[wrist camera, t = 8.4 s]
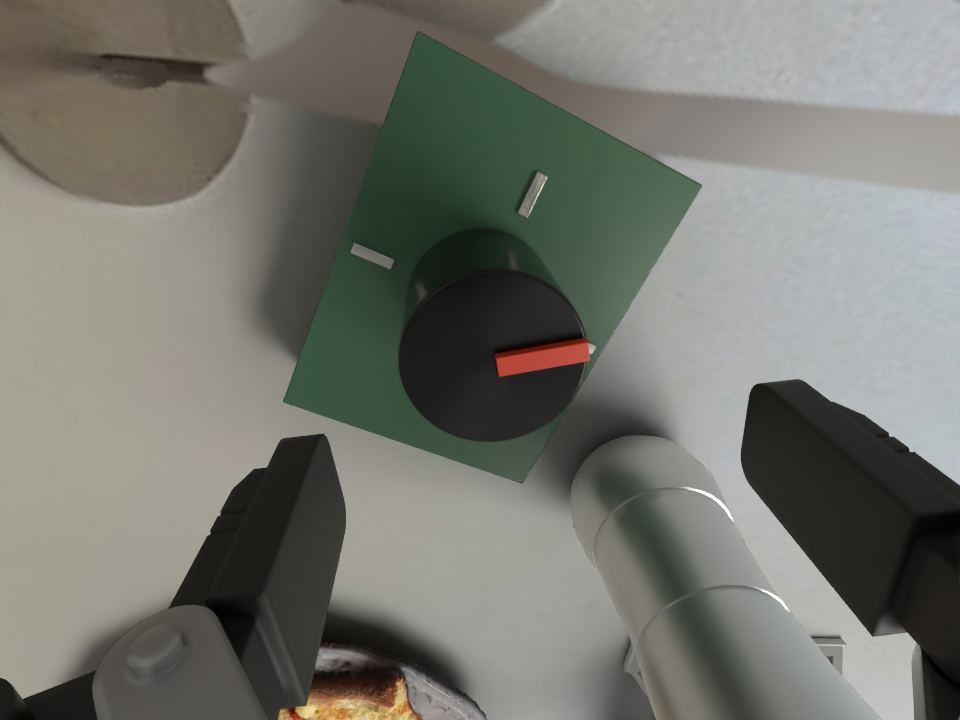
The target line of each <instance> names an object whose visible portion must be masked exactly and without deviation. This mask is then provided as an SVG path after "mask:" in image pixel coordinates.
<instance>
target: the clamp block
mask: <svg viewBox="0 0 960 720" xmlns="http://www.w3.org/2000/svg"><path fill="white" fill-rule="evenodd" d="M701 187H702V185H701V184H699V183H697V182H696V181H694V180H692V179H690V178H688V177H686V176H685V175H683V174H681V173H679V172H677V171H675V170H674V169H672V168H670V167H668V166H666V165H664V164H662V163H661V162H659V161H657V160H655V159H653V158H651V157H650V156H648V155H646V154H644V153H642V152H640V151H639V150H637V149H635V148H633V147H631V146H629V145H628V144H626V143H624V142H622V141H620V140H618V139H616V138H614V137H613V136H611V135H609V134H607V133H605V132H604V131H602V130H600V129H598V128H596V127H594V126H592V125H591V124H589V123H587V122H585V121H583V120H581V119H580V118H578V117H576V116H574V115H572V114H570V113H569V112H567V111H565V110H563V109H561V108H559V107H558V106H556V105H554V104H552V103H550V102H548V101H547V100H545V99H543V98H541V97H539V96H537V95H535V94H534V93H532V92H530V91H528V90H526V89H524V88H523V87H521V86H519V85H517V84H515V83H513V82H512V81H510V80H508V79H506V78H504V77H502V76H500V75H499V74H497V73H495V72H493V71H491V70H489V69H488V68H486V67H484V66H482V65H480V64H478V63H476V62H474V61H473V60H471V59H469V58H467V57H466V56H464V55H461V54H460V53H458V52H456V51H454V50H452V49H451V48H449V47H447V46H445V45H443V44H442V43H440V42H438V41H436V40H434V39H432V38H430V37H428V36H427V35H425V34H423V33H421V32H419V31H418V32H417V33H416V36H415V39H414V42H413V45H412V47H411V50H410V53H409V56H408V58H407V61H406V64H405V66H404V69H403V72H402V75H401V78H400V81H399V83H398V86H397V89H396V91H395V95H394V97H393V100H392V102H391V105H390V108H389V111H388V113H387V116H386V119H385V122H384V124H383V127H382V130H381V133H380V135H379V138H378V141H377V144H376V146H375V149H374V152H373V155H372V157H371V160H370V163H369V166H368V168H367V171H366V174H365V177H364V180H363V182H362V185H361V188H360V191H359V193H358V196H357V199H356V202H355V204H354V207H353V210H352V213H351V215H350V218H349V221H348V224H347V226H346V229H345V232H344V235H343V237H342V240H341V243H340V246H339V248H338V251H337V254H336V257H335V259H334V262H333V265H332V268H331V271H330V273H329V276H328V279H327V282H326V284H325V287H324V290H323V293H322V295H321V298H320V301H319V304H318V306H317V309H316V312H315V315H314V317H313V320H312V323H311V326H310V328H309V331H308V334H307V337H306V339H305V342H304V345H303V348H302V350H301V353H300V356H299V359H298V362H297V364H296V367H295V370H294V373H293V375H292V378H291V381H290V384H289V386H288V389H287V392H286V395H285V397H284V400H283V402H284V403H287V404H290V405H293V406H296V407H299V408H302V409H305V410H308V411H311V412H313V413H316V414H319V415H322V416H325V417H328V418H331V419H334V420H337V421H340V422H343V423H346V424H349V425H352V426H355V427H358V428H361V429H363V430H366V431H369V432H372V433H375V434H378V435H381V436H384V437H387V438H390V439H393V440H396V441H399V442H402V443H405V444H408V445H410V446H413V447H416V448H419V449H422V450H425V451H428V452H431V453H434V454H437V455H440V456H443V457H446V458H449V459H452V460H455V461H458V462H460V463H463V464H466V465H469V466H472V467H475V468H478V469H481V470H484V471H487V472H490V473H493V474H496V475H499V476H502V477H505V478H507V479H510V480H513V481H516V482H519V483H523V482H524V480H525V478H526V477H527V475H528V474H529V472H530V470H531V469H532V467H533V465H534V464H535V462H536V460H537V459H538V457H539V455H540V454H541V452H542V450H543V449H544V447H545V445H546V444H547V442H548V440H549V439H550V437H551V435H552V434H553V432H554V430H555V429H556V427H557V426H558V424H559V422H560V421H561V419H562V417H563V416H564V414H565V412H566V411H567V409H568V407H569V406H570V404H571V402H572V401H573V399H574V398H573V399H572V401H571V402H570V403H569V405H568V406H567V407H566V408H565V409H564V410H563V411H562V412H561V413H560V414H559V415H558V416H557V417H556V418H555V419H554V420H552V421H551V422H550V423H548V424H547V425H545V426H544V427H542V428H540V429H539V430H537V431H535V432H532V433H530V434H528V435H525V436H522V437H520V438H516V439H512V440H507V441H499V442H479V441H471V440H466V439H462V438H459V437H456V436H453V435H450V434H448V433H446V432H444V431H442V430H440V429H439V428H437V427H436V426H434V425H433V424H431V423H430V422H429V421H428V420H426V419H425V418H424V417H423V416H422V415H421V414H420V413H419V412H418V411H417V409H416V408H415V407H414V406H413V404H412V403H411V401H410V400H409V398H408V396H407V394H406V392H405V390H404V388H403V385H402V382H401V379H400V374H399V368H398V351H399V343H400V336H401V330H402V324H403V318H404V312H405V305H406V299H407V293H408V287H409V283H410V279H411V277H412V274H413V272H414V269H415V268H416V266H417V264H418V263H419V261H420V260H421V258H422V257H423V256H424V255H425V253H426V252H427V251H428V250H429V249H430V248H432V247H433V246H434V245H435V244H437V243H438V242H439V241H441V240H443V239H444V238H446V237H448V236H450V235H453V234H455V233H458V232H462V231H466V230H471V229H492V230H498V231H501V232H505V233H508V234H510V235H512V236H515V237H517V238H518V239H520V240H522V241H523V242H525V243H526V244H527V245H528V246H529V247H531V248H532V249H533V250H534V251H535V253H536V254H537V255H538V256H539V257H540V259H541V260H542V262H543V263H544V265H545V266H546V267H547V269H548V270H549V272H550V273H551V275H552V276H553V278H554V279H555V280H556V282H557V283H558V285H559V286H560V288H561V289H562V291H563V292H564V293H565V295H566V296H567V298H568V299H569V301H570V302H571V304H572V305H573V306H574V308H575V309H576V311H577V312H578V314H579V317H580V319H581V321H582V323H583V326H584V329H585V333H586V338H587V341H588V342H589V354H590V361H587V365H586V370H585V374H584V377H583V380H582V382H581V385H580V387H581V386H582V384H583V382H584V381H585V379H586V377H587V376H588V374H589V373H590V371H591V369H592V368H593V366H594V364H595V363H596V361H597V359H598V358H599V356H600V354H601V353H602V351H603V349H604V348H605V346H606V344H607V343H608V341H609V339H610V338H611V336H612V334H613V333H614V331H615V329H616V328H617V326H618V325H619V323H620V321H621V320H622V318H623V316H624V315H625V313H626V311H627V310H628V308H629V306H630V305H631V303H632V301H633V300H634V298H635V296H636V295H637V293H638V291H639V290H640V288H641V286H642V285H643V283H644V281H645V280H646V278H647V277H648V275H649V273H650V272H651V270H652V268H653V267H654V265H655V263H656V262H657V260H658V258H659V257H660V255H661V253H662V252H663V250H664V248H665V247H666V245H667V243H668V242H669V240H670V238H671V237H672V235H673V233H674V232H675V230H676V229H677V227H678V225H679V224H680V222H681V220H682V219H683V217H684V215H685V214H686V212H687V210H688V209H689V207H690V205H691V204H692V202H693V200H694V199H695V197H696V195H697V194H698V192H699V190H700V189H701ZM580 387H579V389H580ZM579 389H578V391H579ZM578 391H577V392H578ZM576 394H577V393H576ZM576 394H575V396H576ZM575 396H574V397H575Z"/></svg>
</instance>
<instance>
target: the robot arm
mask: <svg viewBox="0 0 960 720" xmlns="http://www.w3.org/2000/svg"><path fill="white" fill-rule="evenodd" d="M741 463H742V468H743V471H744V474H745V477H746V479H747V481H748V483H749V484H750V486H751V487H752V488H753V489H754V491H755V492H756V493H757V494H758V496H759V497H760V498H761V499H762V501H763V502H764V503H765V504H766V505H767V507H768V508H769V509H770V510H771V512H772V513H773V514H774V515H775V517H776V518H777V519H778V520H779V522H780V523H781V524H782V525H783V526H784V528H785V529H786V530H787V531H788V533H789V534H790V535H791V536H792V538H793V539H794V540H795V541H796V543H797V544H798V545H799V546H800V547H801V549H802V550H803V551H804V552H805V554H806V555H807V556H808V557H809V559H810V560H811V561H812V562H813V563H814V565H815V566H816V567H817V568H818V570H819V571H820V572H821V573H822V575H823V576H824V577H825V578H826V580H827V581H828V582H829V583H830V584H831V586H832V587H833V588H834V589H835V591H836V592H837V593H838V594H839V596H840V597H841V598H842V599H843V601H844V602H845V603H846V604H847V605H848V607H849V608H850V609H851V610H852V612H853V613H854V614H855V615H856V617H857V618H858V619H859V620H860V622H861V623H862V624H863V625H864V626H865V628H866V629H867V630H868V631H869V633H870V634H871V635H872V636H873V637H874V636H882V635H890V634H897V633H905V632H908V633H909V635H910V636H911V637H912V638H913V639H914V640H915V641H916V642H917V645H916V647H915V650H914V652H913V654H912V680H913V700H914V720H960V485H958V484H957V483H956V482H954V481H953V480H952V479H950V478H949V477H947V476H946V475H945V474H943V473H942V472H941V471H939V470H938V469H937V468H935V467H934V466H933V465H931V464H930V463H928V462H927V461H926V460H924V459H923V458H922V457H920V456H919V455H918V454H916V453H915V452H910V451H909V448H908V447H907V446H905V445H904V444H903V443H901V442H900V441H899V440H897V439H896V438H895V437H889V433H888V432H886V431H885V430H884V429H882V428H881V427H880V426H878V425H877V424H876V423H874V422H873V421H872V420H870V419H869V418H867V417H866V416H865V415H862V414H860V413H858V412H856V411H853V410H851V409H849V408H846V407H844V406H842V405H839V404H837V403H835V402H831V401H829V400H828V399H827V398H825V397H824V396H823V395H821V394H820V393H819V392H818V391H816V390H815V389H814V388H812V387H811V386H810V385H808V384H807V383H806V382H804V381H802V380H799V379H795V380H786V381H778V382H769V383H761V384H756V385H755V386H754V387H753V388H752V390H751V392H750V395H749V401H748V408H747V414H746V421H745V428H744V435H743V441H742V448H741ZM345 528H346V510H345V502H344V497H343V493H342V490H341V486H340V482H339V478H338V475H337V471H336V467H335V463H334V460H333V456H332V452H331V448H330V445H329V442H328V439H327V437H326V436H325V435H324V434H317V435H308V436H299V437H291V438H283V439H281V440H280V442H279V443H278V446H277V448H276V450H275V452H274V454H273V456H272V458H271V460H270V462H269V465H268V467H267V468H260V469H254V470H253V471H252V472H251V473H249V474H248V475H247V476H246V477H245V478H244V479H243V480H242V481H241V482H240V483H239V484H238V485H237V486H236V487H234V488H233V489H232V491H231V493H230V495H229V497H228V499H227V500H226V502H225V504H224V506H223V508H222V510H221V516H218V517H217V519H216V521H215V523H214V525H213V526H212V528H211V530H210V531H211V534H210V535H208V536H207V538H206V540H205V541H204V543H203V545H202V547H201V549H200V551H199V553H198V554H197V556H196V558H195V560H194V562H193V564H192V566H191V567H190V569H189V571H188V573H187V575H186V577H185V579H184V580H183V582H182V584H181V586H180V588H179V590H178V592H177V594H176V595H175V597H174V599H173V601H172V603H171V605H170V607H169V608H168V609H166V610H164V611H161V612H159V613H157V614H155V615H153V616H151V617H149V618H147V619H145V620H144V621H142V622H140V623H139V624H137V625H136V626H134V627H133V628H132V629H131V630H129V631H128V632H127V633H126V634H124V635H123V636H122V637H121V638H120V639H119V640H118V641H117V642H116V643H115V644H114V645H113V646H112V647H111V648H110V650H109V651H108V652H107V654H106V655H105V656H104V658H103V659H102V661H101V663H100V665H99V666H98V668H97V670H96V671H93V672H91V673H89V674H86V675H83V676H81V677H78V678H76V679H73V680H71V681H68V682H66V683H63V684H60V685H58V686H55V687H53V688H50V689H48V690H45V691H42V692H40V693H37V694H35V695H32V696H30V697H27V698H24V699H22V698H21V696H20V695H19V694H18V693H17V691H16V690H15V689H14V687H13V686H12V685H11V684H10V683H9V682H8V681H7V680H5V679H2V678H0V720H278V717H279V713H280V709H286V708H294V707H302V706H307V701H308V697H309V692H310V688H311V683H312V679H313V674H314V670H315V665H316V661H317V656H318V652H319V647H320V643H321V638H322V634H323V629H324V625H325V620H326V616H327V611H328V607H329V602H330V598H331V593H332V589H333V584H334V580H335V575H336V571H337V566H338V562H339V557H340V553H341V548H342V544H343V539H344V534H345Z"/></svg>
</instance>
